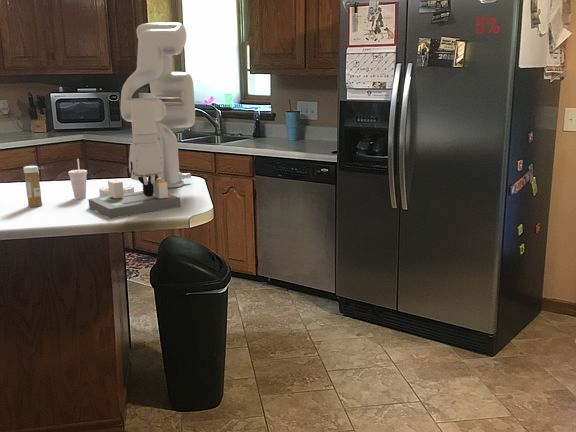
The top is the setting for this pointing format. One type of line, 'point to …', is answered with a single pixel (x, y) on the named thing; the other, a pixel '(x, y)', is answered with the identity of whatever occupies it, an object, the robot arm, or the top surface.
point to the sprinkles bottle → (32, 186)
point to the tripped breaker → (160, 189)
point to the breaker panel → (132, 204)
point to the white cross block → (105, 190)
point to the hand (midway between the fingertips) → (148, 195)
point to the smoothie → (78, 182)
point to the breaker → (115, 189)
